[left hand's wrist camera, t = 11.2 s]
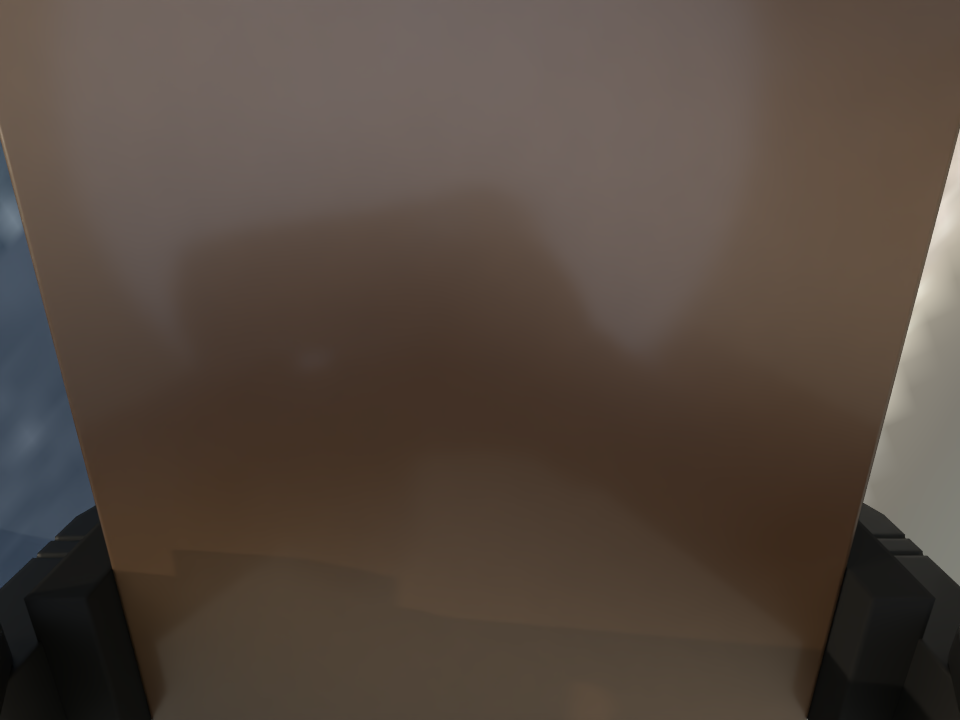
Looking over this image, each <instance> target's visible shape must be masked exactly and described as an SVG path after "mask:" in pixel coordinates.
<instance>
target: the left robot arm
mask: <svg viewBox="0 0 960 720" xmlns="http://www.w3.org/2000/svg"><path fill="white" fill-rule="evenodd" d="M807 719H808V720H960V586H959V585H958V584H957V583H956V582H955V581H953V580H952V579H951V578H950V577H949V576H948V575H947V574H946V573H945V572H944V571H943V570H942V569H941V568H940V567H939V566H938V565H936V564H935V563H934V562H933V561H932V560H931V559H930V558H929V557H928V556H923V551H922V550H921V549H920V548H918V547H917V546H916V545H915V544H914V543H913V542H912V541H911V540H910V539H906V538H905V534H904V533H903V532H902V531H900V530H899V529H898V528H897V527H896V526H895V525H894V524H893V523H892V522H891V521H890V520H889V519H888V518H887V517H886V516H885V515H883V514H882V513H880V512H878V511H876V510H875V509H873V508H871V507H870V506H868V505H866V504H864V503H863V504H862V508H861V512H860V516H859V520H858V523H857V527H856V531H855V535H854V539H853V543H852V547H851V550H850V554H849V558H848V562H847V566H846V570H845V574H844V577H843V581H842V585H841V589H840V593H839V597H838V601H837V604H836V608H835V612H834V616H833V620H832V624H831V628H830V632H829V635H828V639H827V643H826V647H825V651H824V655H823V659H822V662H821V666H820V670H819V674H818V678H817V682H816V686H815V689H814V693H813V697H812V701H811V705H810V709H809V713H808V716H807ZM0 720H152V719H151V715H150V711H149V707H148V703H147V699H146V696H145V692H144V688H143V684H142V680H141V676H140V673H139V669H138V665H137V661H136V657H135V653H134V650H133V646H132V642H131V638H130V634H129V630H128V627H127V623H126V619H125V615H124V611H123V607H122V603H121V600H120V596H119V592H118V588H117V584H116V580H115V577H114V573H113V569H112V565H111V561H110V557H109V554H108V550H107V546H106V542H105V538H104V534H103V531H102V527H101V523H100V519H99V515H98V511H97V508H96V506H94V507H92V508H91V509H89V510H87V511H85V512H84V513H82V514H80V515H78V516H77V517H75V518H74V519H73V520H72V521H71V522H70V523H69V524H68V525H67V526H66V527H65V528H64V529H63V530H62V531H61V532H60V533H59V534H58V535H57V536H56V537H55V541H50V542H49V543H48V544H47V545H46V546H45V547H44V548H43V549H42V550H41V551H40V552H39V553H38V556H37V558H32V559H31V560H30V561H29V562H28V563H27V564H26V565H25V566H24V567H23V568H22V569H21V570H20V571H19V572H18V573H17V574H16V575H14V576H13V577H12V578H11V579H10V580H9V581H8V582H7V583H6V584H5V585H4V586H3V587H2V588H1V589H0Z"/></svg>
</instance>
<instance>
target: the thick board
mask: <svg viewBox="0 0 960 720" xmlns="http://www.w3.org/2000/svg"><path fill="white" fill-rule="evenodd" d="M959 130H960V0H0V140H1V143H2V147H3V151H4V155H5V159H6V163H7V166H8V170H9V174H10V178H11V182H12V186H13V189H14V193H15V197H16V201H17V205H18V209H19V212H20V216H21V220H22V224H23V228H24V232H25V235H26V239H27V243H28V247H29V251H30V255H31V258H32V262H33V266H34V270H35V274H36V278H37V281H38V285H39V289H40V293H41V297H42V301H43V304H44V308H45V312H46V316H47V320H48V324H49V327H50V331H51V335H52V339H53V343H54V347H55V350H56V354H57V358H58V362H59V366H60V370H61V373H62V377H63V381H64V385H65V389H66V393H67V396H68V400H69V404H70V408H71V412H72V416H73V419H74V423H75V427H76V431H77V435H78V439H79V442H80V446H81V450H82V454H83V458H84V462H85V465H86V469H87V473H88V477H89V481H90V485H91V488H92V492H93V496H94V500H95V504H96V508H97V511H98V515H99V519H100V523H101V527H102V531H103V534H104V538H105V542H106V546H107V550H108V554H109V557H110V561H111V565H112V569H113V573H114V577H115V580H116V584H117V588H118V592H119V596H120V600H121V603H122V607H123V611H124V615H125V619H126V623H127V627H128V630H129V634H130V638H131V642H132V646H133V650H134V653H135V657H136V661H137V665H138V669H139V673H140V676H141V680H142V684H143V688H144V692H145V696H146V699H147V703H148V707H149V711H150V715H151V719H152V720H807V716H808V713H809V709H810V705H811V701H812V697H813V693H814V689H815V686H816V682H817V678H818V674H819V670H820V666H821V662H822V659H823V655H824V651H825V647H826V643H827V639H828V635H829V632H830V628H831V624H832V620H833V616H834V612H835V608H836V604H837V601H838V597H839V593H840V589H841V585H842V581H843V577H844V574H845V570H846V566H847V562H848V558H849V554H850V550H851V547H852V543H853V539H854V535H855V531H856V527H857V523H858V520H859V516H860V512H861V508H862V504H863V500H864V496H865V493H866V489H867V485H868V481H869V477H870V473H871V469H872V465H873V462H874V458H875V454H876V450H877V446H878V442H879V438H880V435H881V431H882V427H883V423H884V419H885V415H886V411H887V408H888V404H889V400H890V396H891V392H892V388H893V384H894V381H895V377H896V373H897V369H898V365H899V361H900V357H901V353H902V350H903V346H904V342H905V338H906V334H907V330H908V326H909V323H910V319H911V315H912V311H913V307H914V303H915V299H916V296H917V292H918V288H919V284H920V280H921V276H922V272H923V269H924V265H925V261H926V257H927V253H928V249H929V245H930V242H931V238H932V234H933V230H934V226H935V222H936V218H937V214H938V211H939V207H940V203H941V199H942V195H943V191H944V187H945V184H946V180H947V176H948V172H949V168H950V164H951V160H952V157H953V153H954V149H955V145H956V141H957V137H958V133H959Z"/></svg>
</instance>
